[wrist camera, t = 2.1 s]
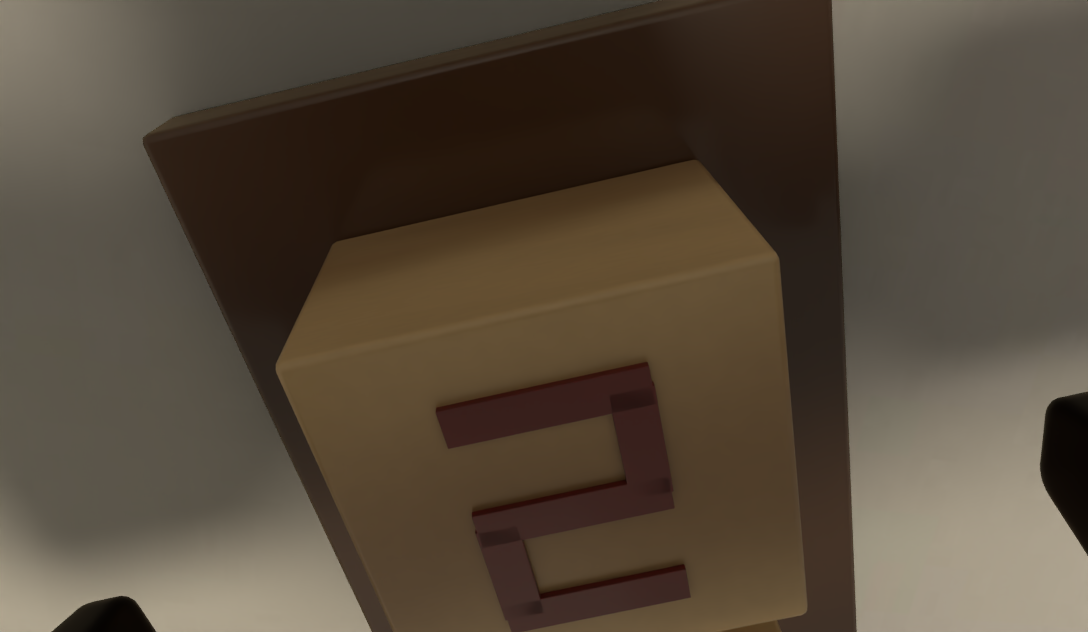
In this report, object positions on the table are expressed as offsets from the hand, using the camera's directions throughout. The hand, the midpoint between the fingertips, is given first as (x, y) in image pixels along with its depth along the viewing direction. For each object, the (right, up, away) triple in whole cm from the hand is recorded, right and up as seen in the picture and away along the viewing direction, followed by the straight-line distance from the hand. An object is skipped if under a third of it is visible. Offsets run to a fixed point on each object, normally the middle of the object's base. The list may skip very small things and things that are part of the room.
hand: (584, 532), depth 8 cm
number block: (0, +2, +3) cm, 3 cm away
